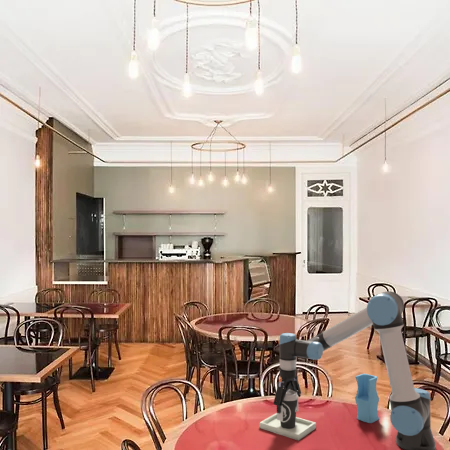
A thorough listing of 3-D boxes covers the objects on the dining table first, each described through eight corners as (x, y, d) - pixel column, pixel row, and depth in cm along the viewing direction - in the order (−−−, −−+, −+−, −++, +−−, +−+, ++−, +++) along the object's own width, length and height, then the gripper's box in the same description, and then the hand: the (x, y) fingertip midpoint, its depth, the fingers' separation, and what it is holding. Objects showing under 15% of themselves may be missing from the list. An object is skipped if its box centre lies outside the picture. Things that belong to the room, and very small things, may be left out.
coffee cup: (298, 431, 198) (297, 396, 199) (276, 429, 200) (276, 395, 201) (299, 422, 208) (298, 389, 208) (278, 420, 209) (278, 388, 210)
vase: (355, 418, 215) (355, 376, 215) (364, 414, 220) (364, 373, 221) (370, 423, 209) (370, 380, 209) (379, 419, 214) (378, 376, 215)
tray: (316, 428, 204) (316, 422, 204) (298, 440, 191) (298, 434, 191) (278, 417, 216) (278, 411, 216) (259, 428, 204) (259, 422, 204)
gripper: (294, 360, 217) (294, 405, 216) (265, 372, 197) (265, 421, 197) (308, 363, 212) (308, 409, 211) (280, 376, 192) (280, 426, 192)
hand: (287, 415), depth 204 cm, fingers open, 13 cm apart
